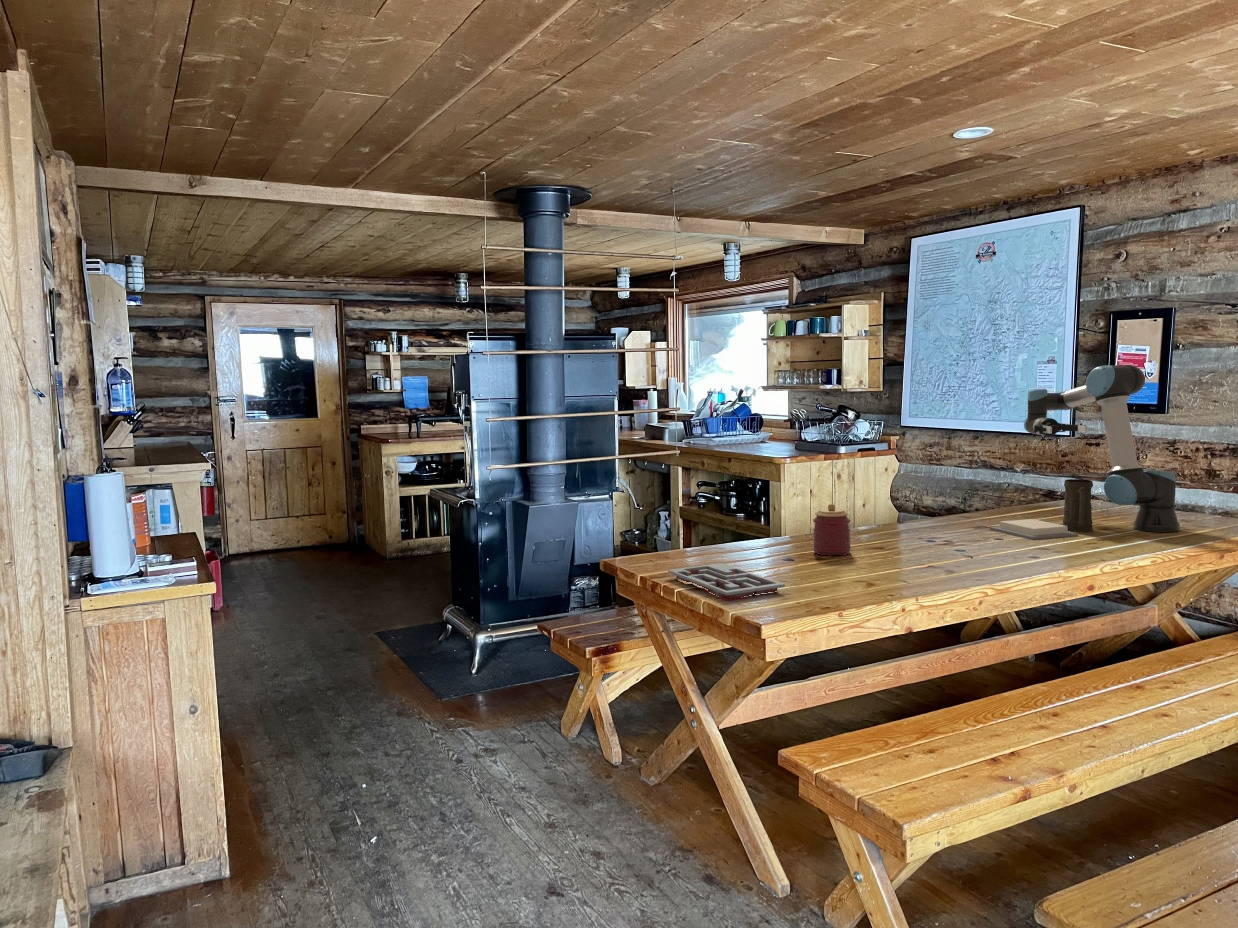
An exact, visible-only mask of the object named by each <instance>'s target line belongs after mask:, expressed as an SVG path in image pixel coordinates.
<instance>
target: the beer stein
mask: <svg viewBox="0 0 1238 928" xmlns="http://www.w3.org/2000/svg"><path fill="white" fill-rule="evenodd" d="M1063 486H1064V505H1063V518H1062V525H1064V526H1067V531H1070V532H1074V533H1090V532H1093V531H1094V528H1093V524H1094V521H1093V517H1092V513H1093V512H1092V488H1093V487H1094V483H1093V480H1091V479H1083V478H1070V479H1069V478H1067V479H1065V480H1064V483H1063Z"/></svg>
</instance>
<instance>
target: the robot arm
mask: <svg viewBox="0 0 1238 928" xmlns="http://www.w3.org/2000/svg"><path fill="white" fill-rule="evenodd" d="M1145 384H1146V375H1145V373H1144V371H1143V370H1142V369H1140V368H1139V367H1137V366H1135V365H1133V364H1132V365H1131V364H1130V365H1129V364H1124V365H1123V364H1122V365H1119V364H1117V365H1111V364H1106V365H1100V366H1097V367H1095V368H1093V369H1092V370H1091V371H1090V372H1089V374H1088V375H1087V377H1086V381H1085V385H1081V386H1078V387H1074V388H1071V389H1068V390H1065V391H1061V392H1048V390H1047V389H1046V388H1031V389H1029V390H1028V393H1027V398H1026V399H1027V417H1026V419H1025V420H1024V422H1023V428H1024V430H1025V431H1026V432H1028V433H1029V434H1032V435H1038V436H1039V435H1040V436H1041V437H1043V438H1044V437H1053V436H1055V435H1056V434H1057V433H1065V432H1078V433H1083V434H1088V425H1087V424H1083V423H1079V424H1070V423H1060V422H1058V421H1057V419H1054V418H1051V417H1048V411H1069V410H1073V409H1075V408H1076V407H1079V406H1081V405H1085V404H1089V403H1092V402H1095V403H1096V404H1097V405H1099V406H1100V407H1101V412H1102V419H1103V424H1104V430H1105V435H1106V441H1107V442H1106V443H1107V446H1108V452H1109V458H1110V463H1111V468H1110V469H1109V470H1108V477H1106V478H1105V480H1104V481H1105V482H1104V483H1103V490H1104V494H1105V496H1106V498H1107V499H1108V500H1109V501H1110V502H1112V503H1113V504H1115V505H1117V506H1132V505H1139V509H1138V512H1137V514H1136V517H1135V520H1134V522H1133V529H1135V530H1136V531H1137V530H1139V531H1142V532H1151V533H1177V532H1179V531H1180V530H1181V529H1180V527H1181V525H1180V522H1178V517H1177V514H1176V508H1175V507H1176V484H1177V481H1176V480H1177V479H1176V474H1175V473H1174V472H1173V471H1167V470H1158V469H1150V468H1149V469H1147V468H1144V467H1143V466H1142V465H1140V464H1139V463H1138V459H1137V458H1138V457H1137V453H1136V448H1135V443H1134V442H1135V441H1134V437H1133V432H1132V427H1131V420H1130V416H1129V410H1128V404H1127V402H1128V400H1130V398H1131V396H1130V395H1134V394H1137V393H1138V392H1140V391H1141V390H1142V389H1143V387H1144V386H1145ZM1176 531H1177V532H1176Z"/></svg>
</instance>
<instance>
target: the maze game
mask: <svg viewBox="0 0 1238 928" xmlns="http://www.w3.org/2000/svg"><path fill="white" fill-rule="evenodd" d="M667 573H669V574H671V575H673V576H676V577H675V578H676V579H677V578H678V579H681V580H683V581H686V582H692V583H695V584H697V585H699V586H702V587H704V588H706V589H708V591H709V592H711V593H713V594H715V595H717V596H719V597H721V598H720V599H722V598H723V599H722V600H724V599H725V601H731V600H730V599H733V600H737V599H736V598H739V599H742V598H741V597H744V596H749V595H753V593H754V594H761V593H768V592H775V591H777V592H778V589H779V588H785V587H786V584H785V583H782V582H780V581H777V580H773V579H770V578H767V577H765V576H761V575H759V574H755V573H753V572H749V571H747V570H743V569H741V568H737V567H734V566H731V565H728V564H726V563H722V562H720V563H719V562H718V563H712V564H705V565H696V566H687V567H681V568H674V569H673V568H672V569H668V570H667ZM691 574H698V575H691ZM708 591H707V592H708ZM753 596H754V595H753ZM719 597H718V598H719Z"/></svg>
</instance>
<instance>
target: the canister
mask: <svg viewBox="0 0 1238 928" xmlns="http://www.w3.org/2000/svg"><path fill="white" fill-rule="evenodd" d="M814 515H815V518H813V519H812V521H813V523H814V527H813V528H812V532H813V545H812V550H813V553H814V552H815V553H817V554H816V555H818V554H821V555H820V556H823V555H828V556H827V557H833V556H832V555H843V556H846V555H845V554H848V555H850V554H849V553H851V548H852V546H851V528H850V523H851V521H852V520H851V519H850V518H849V517H848V516H849V513H848V512H846V511H845V510H844V509H840V508H836V505H835V504H834V503H829V504H828V506H827V508H821V509H819V510H818V511H817V512H815V513H814ZM815 553H814V554H815Z"/></svg>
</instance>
